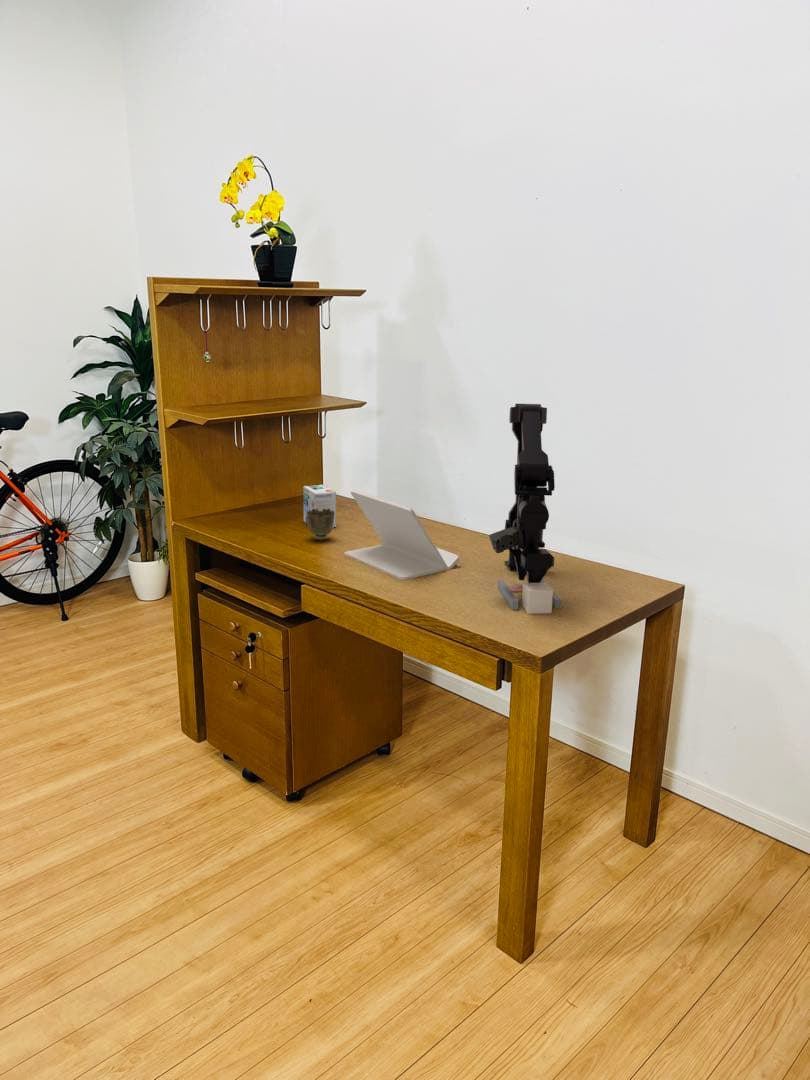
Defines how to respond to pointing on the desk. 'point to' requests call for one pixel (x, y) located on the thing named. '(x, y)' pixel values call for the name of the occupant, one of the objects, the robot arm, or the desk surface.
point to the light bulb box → (319, 500)
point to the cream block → (537, 598)
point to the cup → (320, 523)
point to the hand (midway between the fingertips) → (526, 586)
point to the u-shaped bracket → (511, 597)
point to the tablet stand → (399, 541)
